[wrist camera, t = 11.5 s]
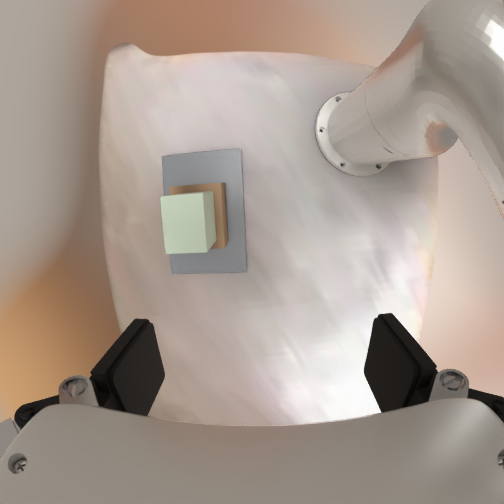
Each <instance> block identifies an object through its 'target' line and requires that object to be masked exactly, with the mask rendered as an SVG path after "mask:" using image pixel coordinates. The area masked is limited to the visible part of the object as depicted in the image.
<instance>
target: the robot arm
mask: <svg viewBox="0 0 504 504" xmlns="http://www.w3.org/2000/svg"><path fill="white" fill-rule="evenodd" d="M502 1H503V4H504V0H502ZM336 99H337V100H338V102H337V101H336ZM320 129H321V130H322V132H320V131H319V130H320ZM315 134H316V139H317V143H318V145H319V148H320V150H321V151H322V153H323V155H324V156H325V157H326V159H327V160H328V161H329V162H330V163H331V164H332V165H333V166H335V167H336V168H337V169H339V170H341V171H343V172H344V173H347V174H350V175H355V176H369V175H374V174H376V173H379V172H381V171H382V170H384V169H385V168H386V167H387V166H388V165H389V164H390V163H391V162H392V161H400V160H409V159H418V158H426V157H433V156H437V155H440V154H442V153H444V152H446V151H447V150H448V149H449V148H451V147H452V146H453V145H454V143H455V142H456V141H457V139H458V137H459V139H460V140H461V141H462V143H463V144H464V146H465V147H466V149H467V150H468V152H469V154H470V156H471V157H472V158H473V160H474V161H475V162H476V164H477V166H478V168H479V170H480V172H481V173H482V175H483V177H484V179H485V181H486V183H487V185H488V187H489V189H490V191H491V193H492V195H493V197H494V200H495V202H496V204H497V206H498V208H499V211H500V213H501V215H502V217H503V219H504V6H503V5H502V4H501V3H500V2H498V1H497V0H430V1H429V2H428V3H427V4H426V5H425V6H424V8H423V9H422V10H421V11H420V13H419V14H418V16H417V17H416V19H415V20H414V22H413V24H412V25H411V27H410V29H409V31H408V32H407V34H406V35H405V37H404V38H403V40H402V41H401V43H400V44H399V46H398V47H397V48H396V49H395V51H394V52H393V53H392V54H391V55H390V56H389V57H388V58H387V59H386V60H385V61H384V62H383V63H382V64H381V65H380V66H379V67H378V68H377V69H376V70H375V71H374V72H373V73H372V74H371V75H370V76H369V77H367V78H366V79H365V80H364V81H363V82H362V83H361V84H360V85H359V86H358V87H357V88H356V89H355V90H354V91H353V92H342V93H339V94H336V95H334V96H332V97H331V98H330V99H328V100H327V101H326V102H325V103H324V104H323V106H322V107H321V109H320V110H319V112H318V115H317V117H316V122H315ZM340 163H342V164H343V166H340ZM376 165H377V166H378V168H377V167H376ZM91 374H92V376H91V377H90V378H87V377H85V376H81V375H77V376H72V377H69V378H67V379H65V380H64V381H63V382H62V383H61V384H60V386H59V390H58V391H59V395H57V396H53V397H50V398H46V399H42V400H39V401H35V402H32V403H28V404H25V405H22V406H21V407H20V408H19V409H18V410H17V411H16V413H15V417H14V419H15V420H12V419H11V418H9V419H7V420H5V421H3V422H1V423H0V504H504V398H503V397H501V396H497V395H493V394H489V393H485V392H481V391H477V390H473V389H469V381H468V378H467V377H466V376H465V375H464V374H463V373H462V372H460V371H458V370H454V369H445V370H442V371H440V372H437V370H436V364H435V363H434V362H433V361H432V360H431V358H430V357H429V356H428V355H427V353H426V352H425V351H424V350H423V349H422V347H421V346H420V345H419V344H418V343H417V341H416V340H415V339H414V338H413V337H412V336H411V334H410V333H409V332H408V331H407V330H406V329H405V328H404V326H403V325H402V324H401V323H400V322H399V321H398V320H397V318H396V317H395V316H394V315H393V314H392V313H387V314H379V315H378V317H377V318H375V319H374V322H373V327H372V333H371V338H370V343H369V348H368V353H367V358H366V362H365V366H364V375H365V377H366V379H367V381H368V384H369V386H370V388H371V390H372V392H373V394H374V397H375V399H376V401H377V403H378V406H379V408H380V410H381V412H382V413H378V414H372V415H367V416H361V417H355V418H349V419H342V420H334V421H326V422H316V423H305V424H290V425H221V424H205V423H194V422H184V421H176V420H168V419H161V418H155V417H149V416H147V415H148V413H149V411H150V409H151V406H152V404H153V402H154V400H155V398H156V396H157V393H158V391H159V389H160V387H161V385H162V383H163V380H164V377H165V372H164V368H163V364H162V360H161V356H160V352H159V348H158V343H157V339H156V335H155V330H154V326H153V324H152V323H150V322H149V320H148V319H134V320H133V322H132V323H131V324H130V325H129V326H128V327H127V329H126V330H125V331H124V332H123V333H122V334H121V336H120V337H119V338H118V339H117V340H116V342H115V343H114V344H113V345H112V346H111V348H110V349H109V350H108V351H107V353H106V354H105V355H104V356H103V357H102V359H101V360H100V361H99V362H98V363H97V365H96V366H95V367H94V368H93V369H92V371H91Z"/></svg>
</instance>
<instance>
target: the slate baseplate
mask: <svg viewBox="0 0 504 504" xmlns="http://www.w3.org/2000/svg"><path fill="white" fill-rule="evenodd" d="M162 167H163V186H164V196H168V195H170V191H169V187H173V186H184V185H196V184H209V183H225V185H226V205H227V223H228V240H229V242H228V243H227V245H226V247H225V248H219V249H209V251H208V252H206V253H178V254H170V263H171V271H172V274H196V273H240V272H247V261H246V240H245V219H244V198H243V176H242V153H241V149H228V150H215V151H203V152H193V153H184V154H176V155H168V156H162Z"/></svg>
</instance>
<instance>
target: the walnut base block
mask: <svg viewBox="0 0 504 504" xmlns="http://www.w3.org/2000/svg"><path fill="white" fill-rule="evenodd" d="M169 191H170V195H174V194H183V193H195V192H208V191H213V194H214V210H215V226H216V242H215V243H214V244H213V245H212V247H211V248H210V249H219V248H225V247H226V245H227V243H228V242H229V240H228V223H227V205H226V185H225V183H209V184H196V185H184V186H173V187H169Z"/></svg>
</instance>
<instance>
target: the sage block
mask: <svg viewBox="0 0 504 504" xmlns="http://www.w3.org/2000/svg"><path fill="white" fill-rule="evenodd" d="M160 201H161V213H162V224H163V234H164V243H165V252H166V254H178V253H206V252H208V251H209V249H210V248H211V247H212V245H213V244H214V243H215V242H216V226H215V210H214V194H213V191H208V192H195V193H183V194H174V195H168V196H161V197H160Z"/></svg>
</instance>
